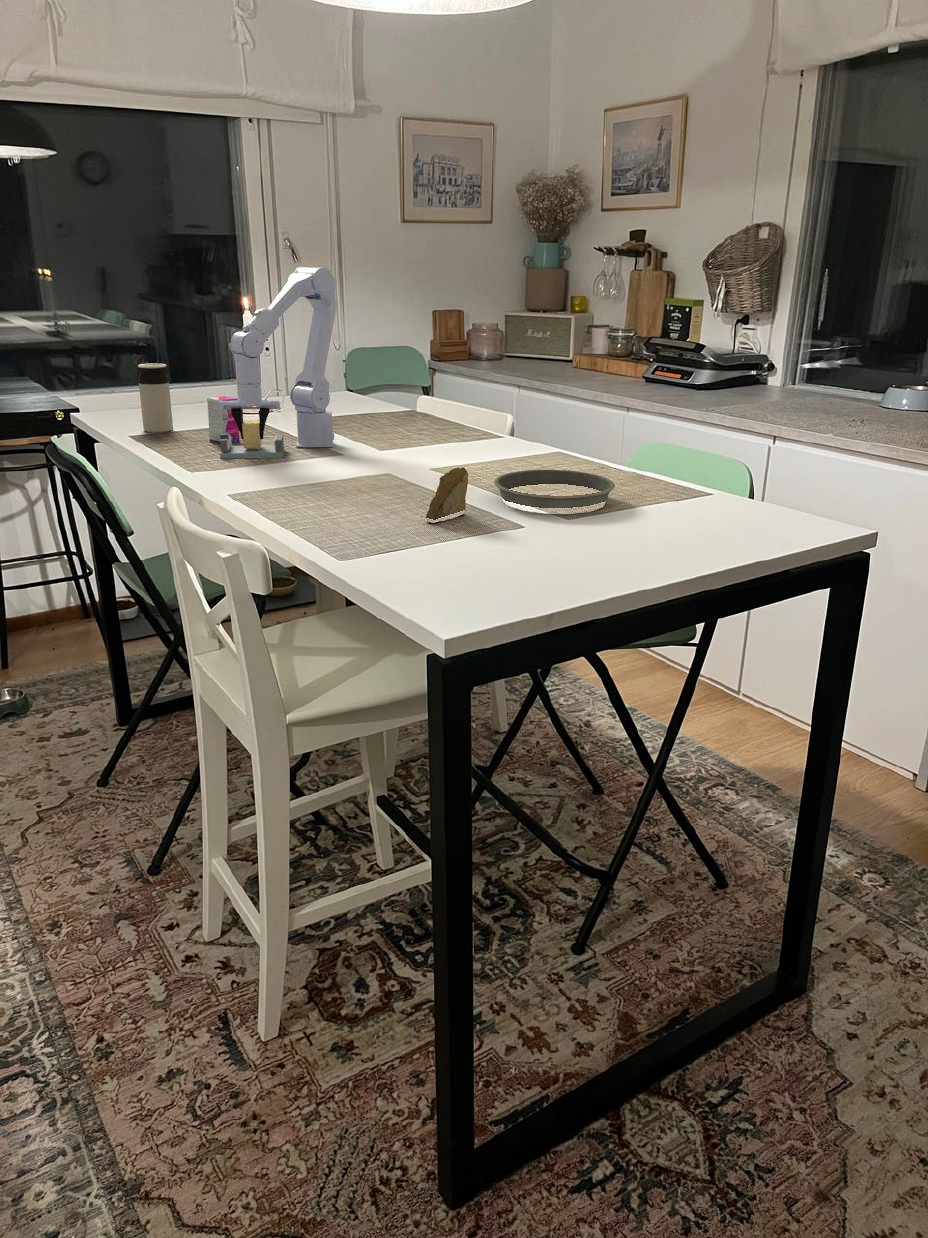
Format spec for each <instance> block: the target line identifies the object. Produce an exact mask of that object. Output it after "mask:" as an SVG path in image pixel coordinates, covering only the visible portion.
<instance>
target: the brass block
mask: <svg viewBox="0 0 928 1238" xmlns="http://www.w3.org/2000/svg"><path fill="white" fill-rule="evenodd" d="M242 428H243V440H242V441H243V446H244V448H261V445H262V444H263V441H262V440H263V439H260V421H259V419H243V423H242Z"/></svg>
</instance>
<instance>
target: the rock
mask: <svg viewBox="0 0 928 1238" xmlns="http://www.w3.org/2000/svg"><path fill="white" fill-rule="evenodd" d="M468 485H469V472H468V471H467V469H466V468H465V467H464V466H463V467H455V468H452V469H450V470H449V471H447V472H445V474H443V475H441V476H440V477H439V483H438V486H437V489H436V492H435V495H434V497H432V499H431V501H430V504H429V508H428V511H427V512H426V514H425V518H429V519H433V520H436V519H438V518H441V517H445V516H448V515H450V514H454V513H457V512H460V511H463V510H465V511H466V508H467V507H466V506H467V505H466V496H467V491H468Z"/></svg>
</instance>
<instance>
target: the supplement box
mask: <svg viewBox="0 0 928 1238" xmlns="http://www.w3.org/2000/svg"><path fill="white" fill-rule="evenodd" d="M233 400H238V397H237V398H236V397H229V396H225V395H224V396H222V395H221V396H215V397H214V396H212V397H207V415H208V432H209V433H208V435H209V442H210V443H217V444H220V440H221V438H220V434H221V433H229V434H230V435H231V443H236V442H240V439H241V436H240V431H239V429H238V426H237V424H236V422H235V420H234V418H233V416H232V414H231V409H225V410H220V404H219V402H220V401H233Z"/></svg>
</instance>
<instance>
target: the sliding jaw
mask: <svg viewBox="0 0 928 1238" xmlns="http://www.w3.org/2000/svg"><path fill="white" fill-rule="evenodd" d="M220 438H221V440H220V443H219V444H220V452H227V451H228V450H229V448H230V446H232V443H233V442H231V435H230V434H229V433H221V434H220Z"/></svg>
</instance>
